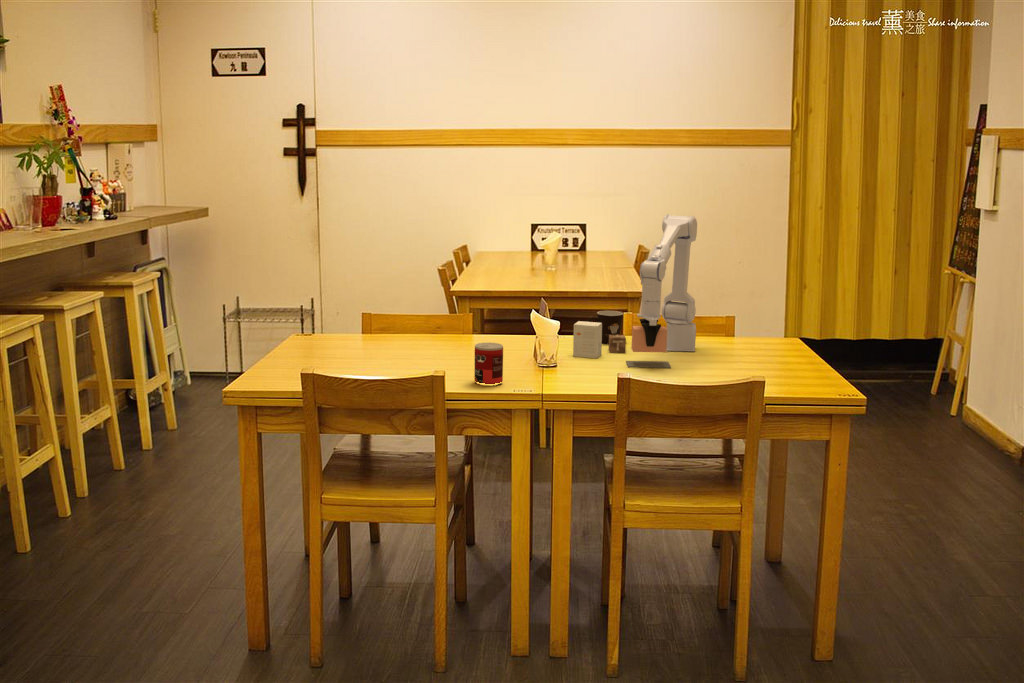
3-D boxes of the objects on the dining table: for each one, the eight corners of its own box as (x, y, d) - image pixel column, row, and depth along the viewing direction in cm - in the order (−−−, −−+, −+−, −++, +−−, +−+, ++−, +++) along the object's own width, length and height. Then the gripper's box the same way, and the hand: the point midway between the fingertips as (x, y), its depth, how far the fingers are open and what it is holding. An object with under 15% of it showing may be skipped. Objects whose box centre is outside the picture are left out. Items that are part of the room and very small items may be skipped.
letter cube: (623, 349, 337) (624, 334, 336) (625, 353, 332) (625, 337, 331) (608, 349, 337) (609, 334, 336) (609, 353, 332) (610, 337, 331)
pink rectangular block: (664, 348, 319) (665, 326, 317) (666, 352, 314) (667, 329, 312) (631, 348, 319) (632, 325, 317) (633, 351, 314) (634, 329, 312)
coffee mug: (621, 340, 351) (623, 311, 349) (622, 345, 343) (623, 316, 341) (587, 338, 352) (588, 310, 350) (586, 344, 344) (587, 314, 342)
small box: (601, 355, 329) (602, 322, 327) (597, 358, 324) (598, 325, 322) (577, 352, 332) (578, 320, 330) (572, 356, 327) (573, 323, 324)
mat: (667, 362, 321) (667, 361, 320) (671, 368, 314) (671, 366, 314) (625, 361, 321) (625, 360, 321) (628, 367, 314) (628, 366, 314)
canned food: (473, 379, 297) (474, 342, 294) (501, 379, 297) (502, 342, 295) (475, 386, 289) (475, 348, 287) (503, 386, 290) (504, 348, 287)
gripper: (635, 295, 320) (633, 338, 323) (640, 304, 306) (638, 349, 309) (658, 296, 320) (656, 339, 323) (664, 304, 306) (662, 349, 309)
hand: (649, 344), depth 316 cm, fingers closed on pink rectangular block, 5 cm apart
